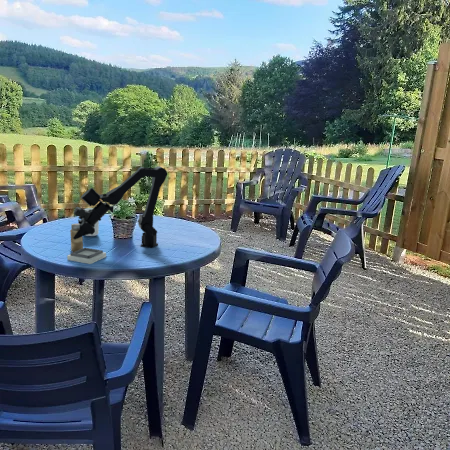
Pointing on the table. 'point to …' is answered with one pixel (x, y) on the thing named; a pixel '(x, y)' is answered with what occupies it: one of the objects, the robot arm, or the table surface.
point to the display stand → (86, 255)
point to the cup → (94, 226)
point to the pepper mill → (75, 243)
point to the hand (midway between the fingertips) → (73, 237)
